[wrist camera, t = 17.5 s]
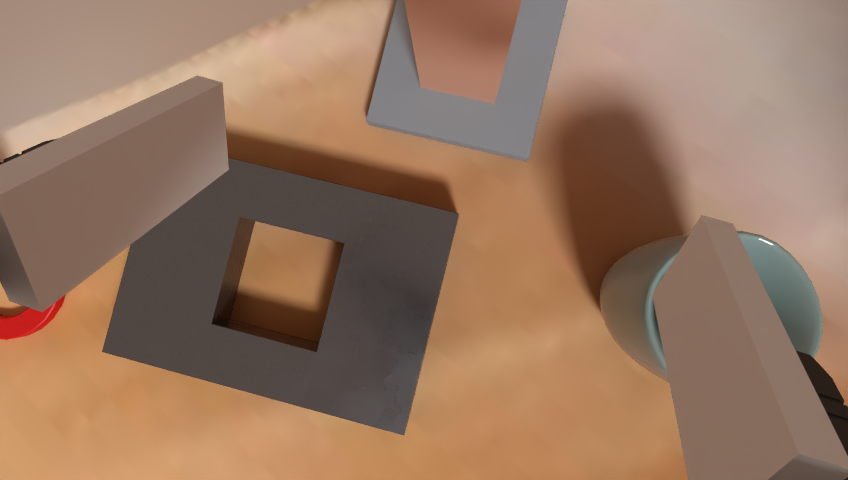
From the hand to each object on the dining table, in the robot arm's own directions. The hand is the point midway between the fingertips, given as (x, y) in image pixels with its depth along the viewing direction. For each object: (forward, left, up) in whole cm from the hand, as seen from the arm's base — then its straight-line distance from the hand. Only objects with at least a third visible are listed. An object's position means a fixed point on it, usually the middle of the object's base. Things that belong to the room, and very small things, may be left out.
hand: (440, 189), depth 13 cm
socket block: (+6, +9, -19) cm, 22 cm away
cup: (-13, -5, -20) cm, 24 cm away
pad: (+6, -10, -19) cm, 23 cm away
